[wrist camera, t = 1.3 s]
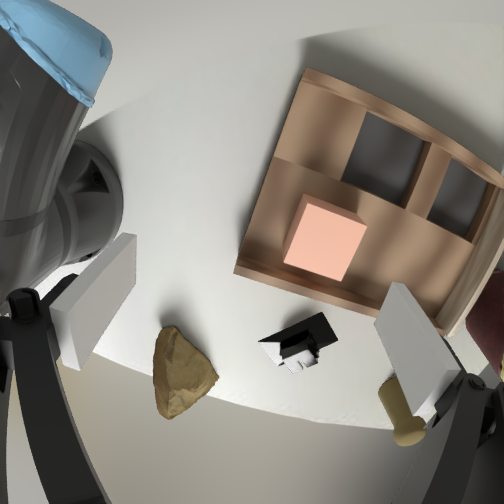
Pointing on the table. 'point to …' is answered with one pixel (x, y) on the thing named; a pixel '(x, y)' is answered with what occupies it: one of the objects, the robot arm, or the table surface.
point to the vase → (490, 322)
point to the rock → (179, 373)
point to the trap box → (379, 205)
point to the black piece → (299, 343)
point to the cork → (401, 414)
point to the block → (322, 238)
